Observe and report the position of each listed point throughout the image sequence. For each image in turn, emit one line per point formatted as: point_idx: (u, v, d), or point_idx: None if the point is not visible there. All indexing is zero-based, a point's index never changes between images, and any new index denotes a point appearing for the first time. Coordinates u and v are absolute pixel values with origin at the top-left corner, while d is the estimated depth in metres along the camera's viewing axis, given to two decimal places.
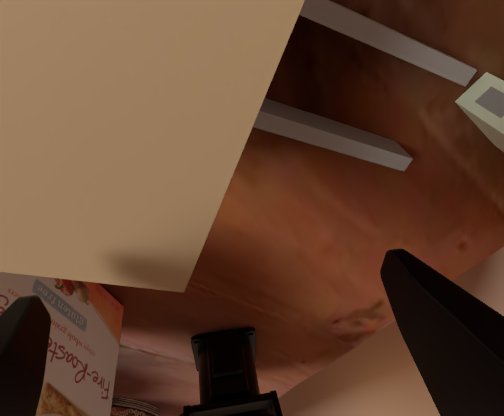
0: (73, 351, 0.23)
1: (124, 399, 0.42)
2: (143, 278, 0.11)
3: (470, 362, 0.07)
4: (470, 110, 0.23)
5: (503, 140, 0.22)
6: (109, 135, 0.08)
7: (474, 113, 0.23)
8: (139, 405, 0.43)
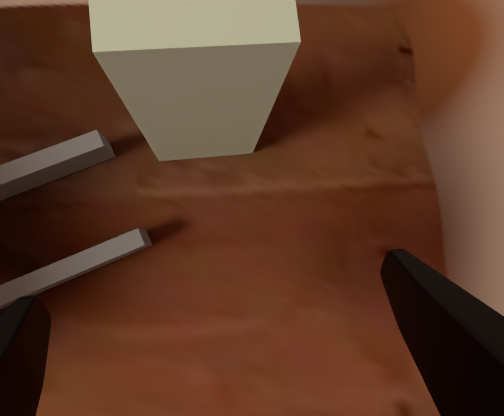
0: None
1: None
2: None
3: (470, 362, 0.07)
4: (155, 153, 0.21)
5: (183, 142, 0.20)
6: None
7: (154, 152, 0.21)
8: None
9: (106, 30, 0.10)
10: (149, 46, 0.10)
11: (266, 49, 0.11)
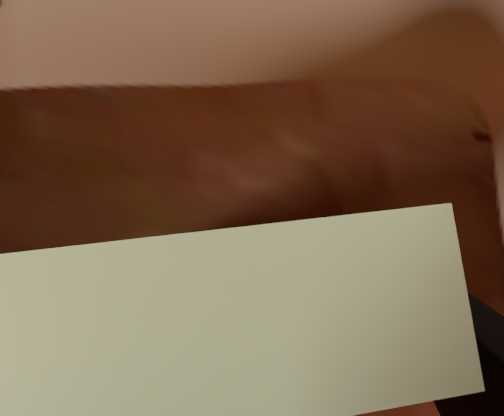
0: None
1: None
2: None
3: None
4: None
5: None
6: None
7: None
8: None
9: None
10: None
11: (397, 394, 0.05)
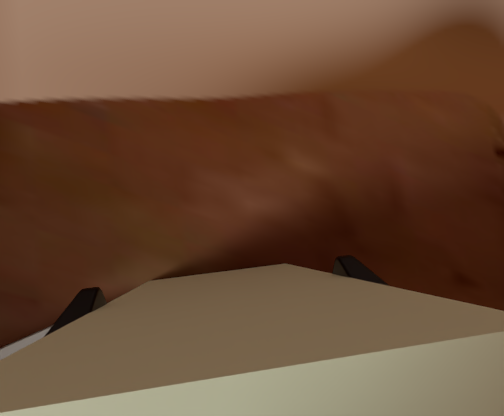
0: None
1: None
2: None
3: None
4: None
5: None
6: None
7: None
8: None
9: None
10: None
11: None
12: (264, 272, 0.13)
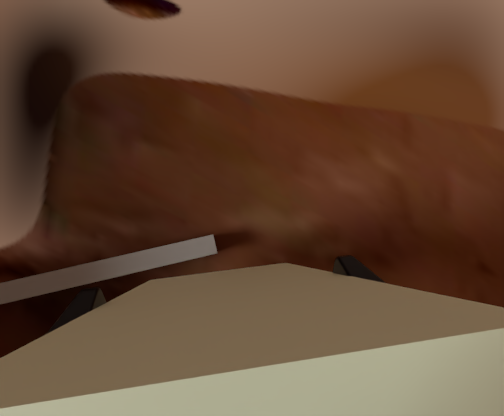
0: None
1: None
2: None
3: None
4: None
5: None
6: None
7: None
8: None
9: None
10: None
11: None
12: (265, 271, 0.13)
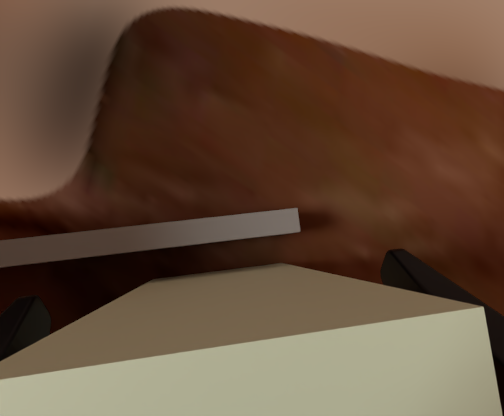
0: None
1: None
2: None
3: None
4: None
5: None
6: None
7: None
8: None
9: None
10: None
11: None
12: (261, 271, 0.14)
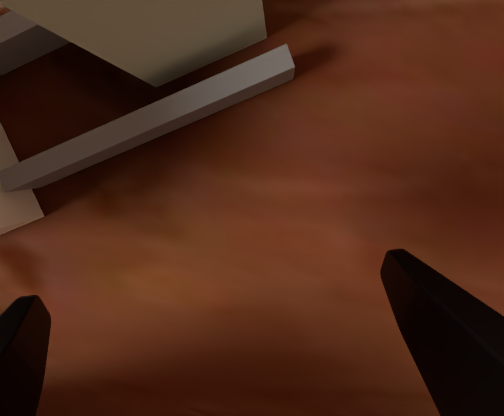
0: None
1: None
2: None
3: (470, 362, 0.07)
4: (144, 79, 0.17)
5: (165, 53, 0.14)
6: None
7: (141, 78, 0.16)
8: None
9: None
10: None
11: None
12: None
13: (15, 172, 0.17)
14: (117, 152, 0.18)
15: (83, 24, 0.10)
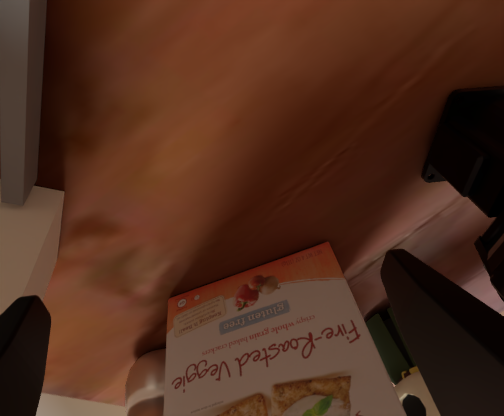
0: (287, 337, 0.23)
1: None
2: None
3: (470, 362, 0.07)
4: None
5: None
6: None
7: None
8: None
9: None
10: None
11: None
12: None
13: (8, 190, 0.18)
14: (38, 104, 0.18)
15: None
